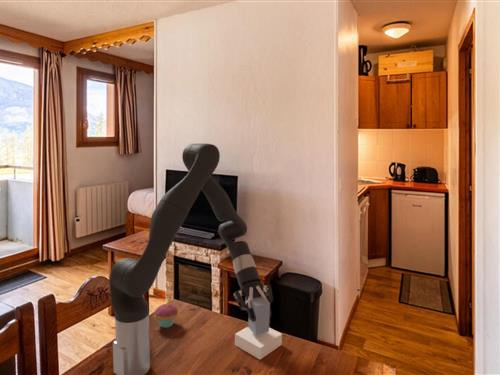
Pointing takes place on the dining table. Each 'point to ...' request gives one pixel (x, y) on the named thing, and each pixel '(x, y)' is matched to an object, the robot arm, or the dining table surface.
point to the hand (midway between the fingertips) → (261, 318)
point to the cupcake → (166, 314)
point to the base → (258, 342)
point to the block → (260, 316)
